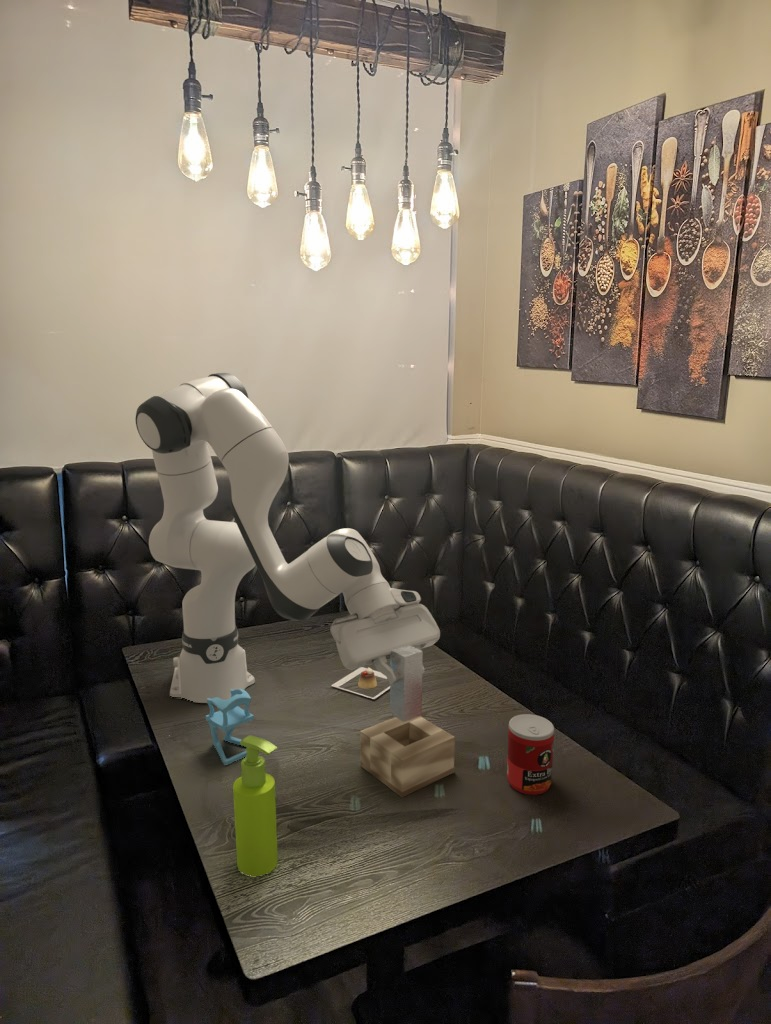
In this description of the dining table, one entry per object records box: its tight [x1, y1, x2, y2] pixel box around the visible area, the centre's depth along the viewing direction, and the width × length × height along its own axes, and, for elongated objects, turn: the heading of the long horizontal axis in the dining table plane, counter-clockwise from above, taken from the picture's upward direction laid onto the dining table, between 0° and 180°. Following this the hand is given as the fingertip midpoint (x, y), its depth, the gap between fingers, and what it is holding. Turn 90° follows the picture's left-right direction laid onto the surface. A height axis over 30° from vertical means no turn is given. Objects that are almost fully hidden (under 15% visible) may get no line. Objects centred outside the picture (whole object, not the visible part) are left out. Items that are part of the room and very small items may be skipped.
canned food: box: [506, 713, 555, 796], centre depth 121 cm, size 8×8×11 cm
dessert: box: [330, 666, 390, 700], centre depth 160 cm, size 12×12×5 cm
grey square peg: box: [389, 645, 424, 722], centre depth 123 cm, size 4×4×12 cm
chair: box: [205, 689, 255, 766], centre depth 132 cm, size 8×8×12 cm
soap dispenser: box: [232, 734, 279, 876], centre depth 101 cm, size 6×7×20 cm
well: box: [359, 716, 456, 798], centre depth 126 cm, size 12×12×7 cm
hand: (408, 677), depth 122 cm, fingers closed on grey square peg, 4 cm apart
